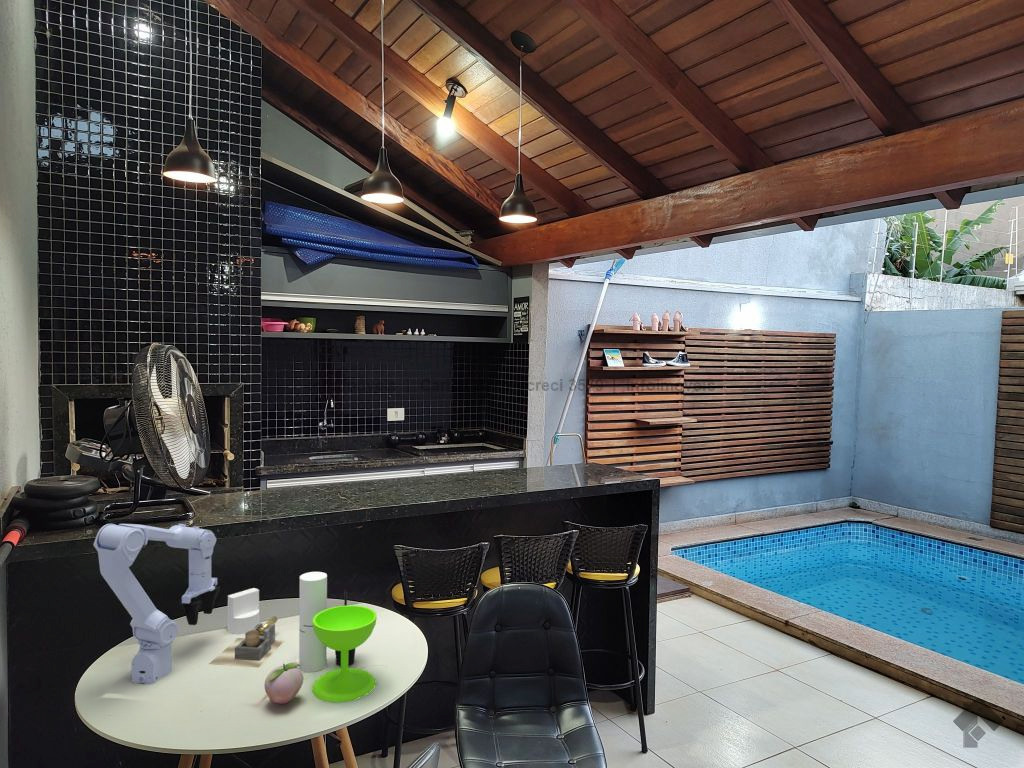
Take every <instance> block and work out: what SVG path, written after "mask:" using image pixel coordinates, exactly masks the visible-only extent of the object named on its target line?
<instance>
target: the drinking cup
mask: <svg viewBox="0 0 1024 768" xmlns="http://www.w3.org/2000/svg"><path fill="white" fill-rule="evenodd" d="M343 592H344V593H343V594H344V597H343V598H344V600H343V601H344V605H343V606H346V605H348V591H346V590H345V591H343ZM334 653H335V662H336V663H335V664H336V665H337V666H338V667H341V651H336V650H334ZM355 655H356V648H355V649H352V650H348V667H349V666H351V665H353V664H354V663H355Z"/></svg>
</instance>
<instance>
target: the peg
mask: <svg viewBox="0 0 1024 768" xmlns="http://www.w3.org/2000/svg"><path fill="white" fill-rule="evenodd" d="M244 638H245V641H246V647H259V646H260V642H259V631H257V630H251V631H248V632H246V633H245V634H244Z"/></svg>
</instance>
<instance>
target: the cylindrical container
mask: <svg viewBox="0 0 1024 768" xmlns="http://www.w3.org/2000/svg"><path fill="white" fill-rule="evenodd" d="M326 609H328V574H327V573H326V572H322V571H310V572H309V571H308V572H305V573H303V574H301V575H299V608H298V611H299V617H298V618H299V619H298V620H299V623H298V624H299V629H298V630H299V632H298V633H299V635H298V636H299V637H298V639H299V640H298V641H299V642H298V643H299V644H298V645H299V646H298V647H299V648H298V649H299V653H298V655H299V656H298V661H299V663H298V664H300V666H298V668H299V669H300V670H301V672H304V673H315V672H319V671H322V670H324V669H325V668H326V667H327V655H328V654H327V650H328V649H327V648H328V647H326V646H325V645H323V643H322V642H321V641H320V640H319V639H318V638H317V636H316V634H315V631H314V628H313V618H314V616H315V615H316V614H318V613H319V612H321V611H323V610H326Z"/></svg>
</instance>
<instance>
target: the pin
mask: <svg viewBox="0 0 1024 768" xmlns="http://www.w3.org/2000/svg"><path fill="white" fill-rule="evenodd" d="M277 621H278V617H277V616H272V617H271V618H270V619H269V620H268V621H266V623H264V624H263V626H262V627H261V628H259V629H258V631H259V635H263V634H264V631H265V630H266V629H267V628H268V627H269V626H270V625H271V624H275V625H276V623H277Z"/></svg>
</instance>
